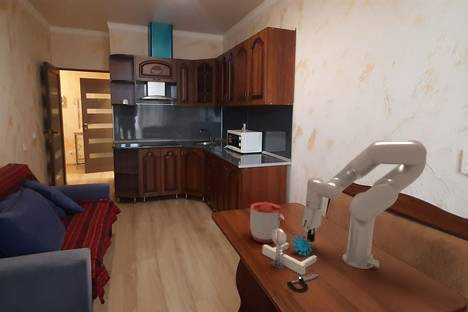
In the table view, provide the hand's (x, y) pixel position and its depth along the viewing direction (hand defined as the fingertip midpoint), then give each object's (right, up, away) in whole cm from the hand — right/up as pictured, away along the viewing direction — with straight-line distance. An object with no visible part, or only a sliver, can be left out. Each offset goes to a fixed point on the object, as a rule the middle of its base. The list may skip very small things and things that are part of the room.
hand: (310, 240), depth 137 cm
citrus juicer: (-21, -2, +10) cm, 23 cm away
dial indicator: (-17, -6, -14) cm, 23 cm away
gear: (-5, -5, -3) cm, 7 cm away
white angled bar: (-12, -5, -10) cm, 16 cm away
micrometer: (-9, -9, -28) cm, 31 cm away
